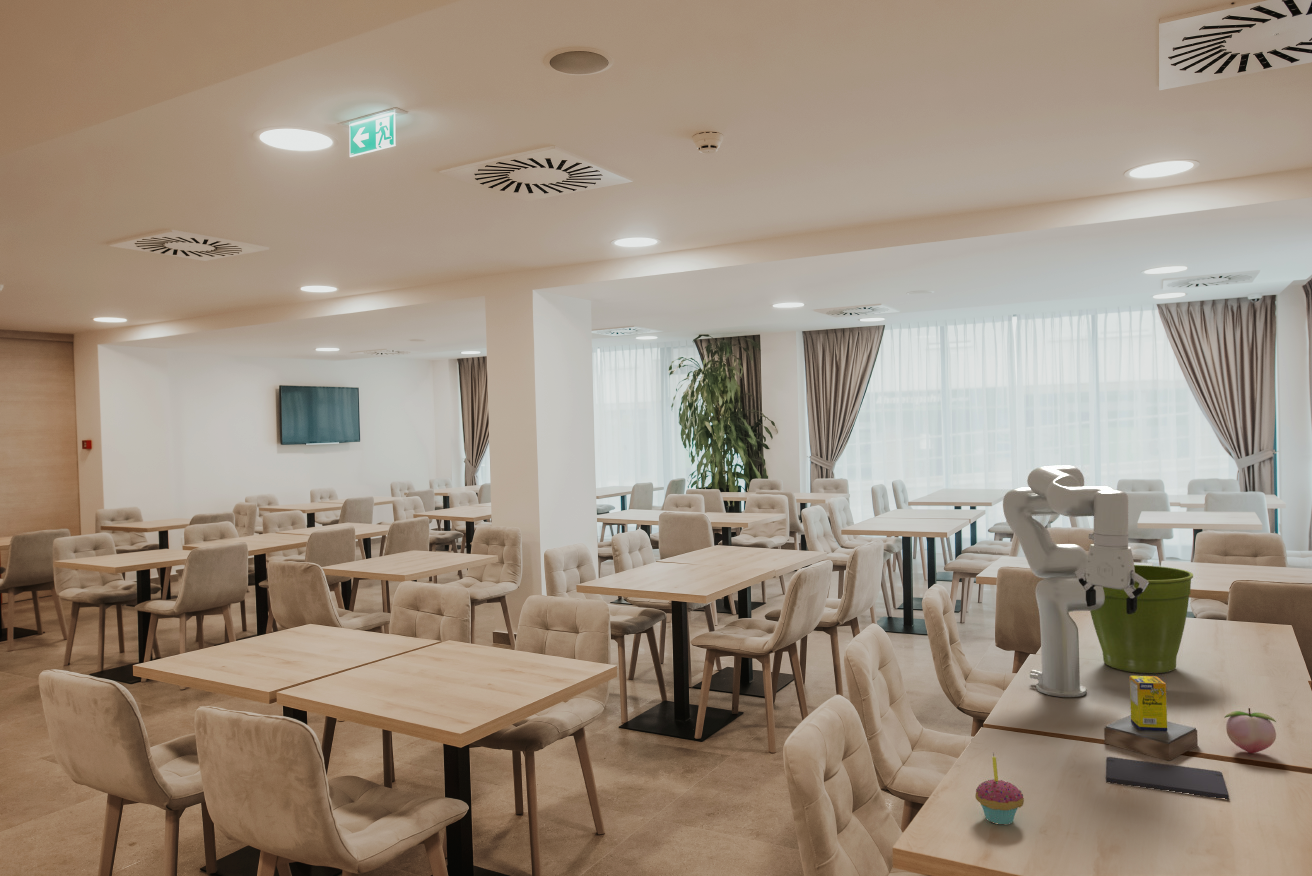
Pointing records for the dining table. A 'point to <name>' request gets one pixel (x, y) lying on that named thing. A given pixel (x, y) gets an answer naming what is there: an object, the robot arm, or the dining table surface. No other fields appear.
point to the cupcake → (999, 798)
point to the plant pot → (1145, 622)
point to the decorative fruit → (1250, 730)
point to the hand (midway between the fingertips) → (1110, 609)
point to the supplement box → (1148, 703)
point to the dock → (1151, 739)
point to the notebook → (1166, 777)
